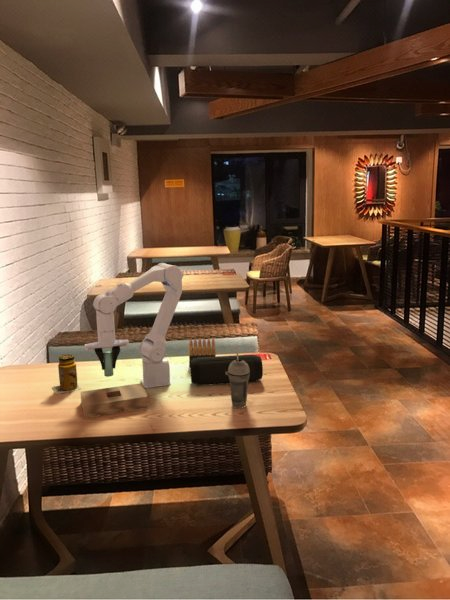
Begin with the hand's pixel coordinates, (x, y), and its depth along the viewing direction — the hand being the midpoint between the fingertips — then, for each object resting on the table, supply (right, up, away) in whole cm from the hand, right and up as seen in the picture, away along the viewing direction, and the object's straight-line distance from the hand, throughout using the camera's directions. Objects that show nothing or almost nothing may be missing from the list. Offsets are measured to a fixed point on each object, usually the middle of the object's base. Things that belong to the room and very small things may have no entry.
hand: (108, 368), depth 170 cm
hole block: (+4, -11, -7) cm, 14 cm away
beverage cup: (+44, -11, -8) cm, 47 cm away
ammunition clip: (+31, -3, +28) cm, 42 cm away
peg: (0, -2, +1) cm, 2 cm away
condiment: (-17, -8, +7) cm, 20 cm away
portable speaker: (+40, -7, +11) cm, 42 cm away
